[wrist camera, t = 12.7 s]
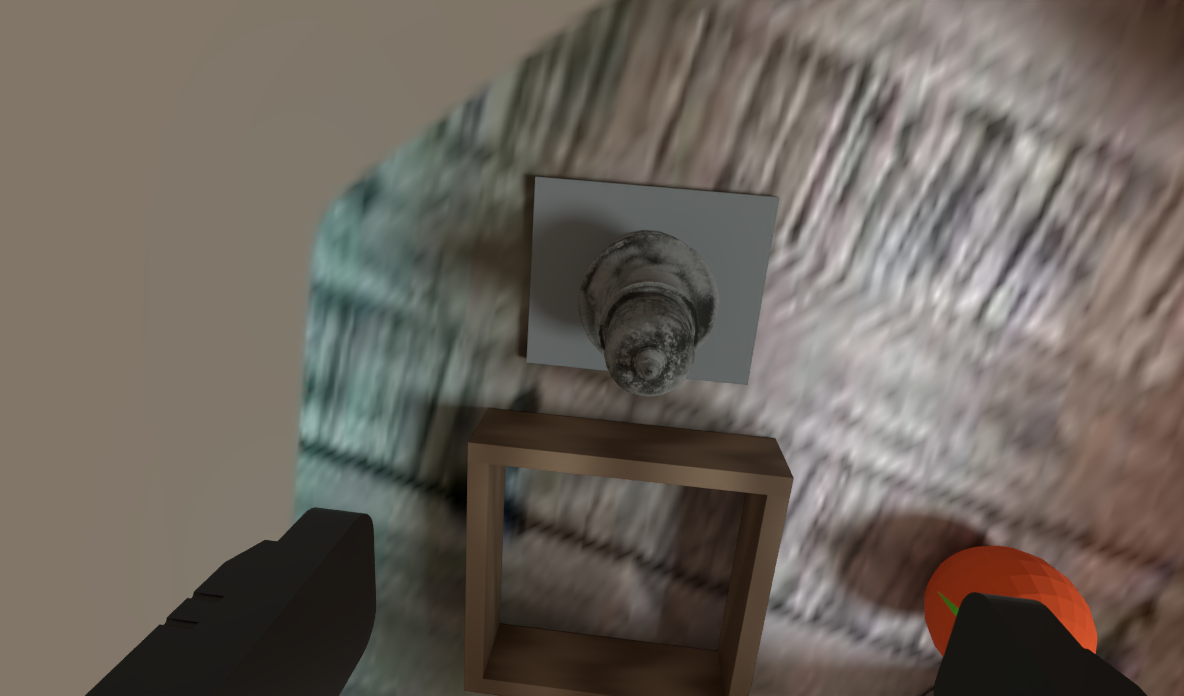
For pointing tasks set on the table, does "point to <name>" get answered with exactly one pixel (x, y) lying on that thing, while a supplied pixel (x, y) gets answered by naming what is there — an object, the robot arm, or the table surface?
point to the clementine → (1003, 590)
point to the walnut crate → (636, 452)
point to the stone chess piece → (648, 310)
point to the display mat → (613, 210)
